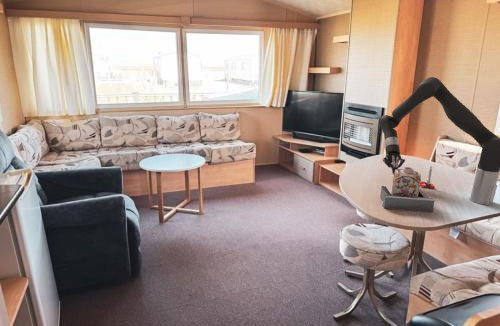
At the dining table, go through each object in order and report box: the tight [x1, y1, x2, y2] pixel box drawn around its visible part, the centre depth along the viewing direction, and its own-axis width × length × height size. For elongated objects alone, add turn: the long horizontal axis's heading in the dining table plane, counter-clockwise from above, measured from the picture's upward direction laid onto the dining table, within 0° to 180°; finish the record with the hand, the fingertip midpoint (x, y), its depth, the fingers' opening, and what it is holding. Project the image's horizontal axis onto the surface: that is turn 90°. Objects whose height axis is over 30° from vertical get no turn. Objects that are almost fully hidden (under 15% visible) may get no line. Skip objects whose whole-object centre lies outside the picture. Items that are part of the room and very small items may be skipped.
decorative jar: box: [390, 166, 422, 197], centre depth 165 cm, size 12×12×18 cm
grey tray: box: [379, 185, 436, 213], centre depth 164 cm, size 15×22×7 cm
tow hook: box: [420, 165, 435, 189], centre depth 190 cm, size 8×13×9 cm
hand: (395, 174), depth 185 cm, fingers closed
